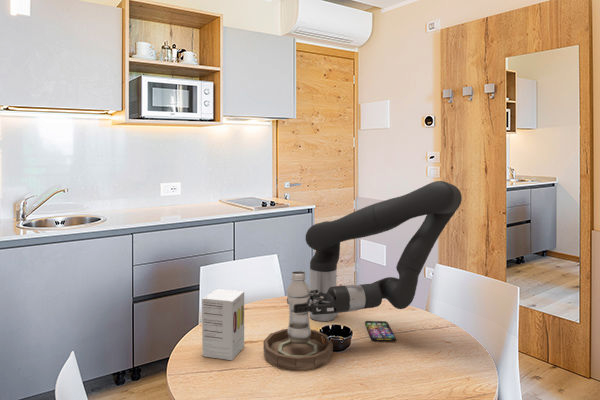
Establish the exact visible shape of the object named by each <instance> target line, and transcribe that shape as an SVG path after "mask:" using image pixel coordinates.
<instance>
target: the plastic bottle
mask: <svg viewBox="0 0 600 400" xmlns="http://www.w3.org/2000/svg"><path fill="white" fill-rule="evenodd" d="M291 280H292V281H291V282H290V283H289V285H288V286H287V289H286V297H288V303H289V305H288V310H289V311H288V312H289V313H288V314H289V315H288V327H287V329H288V332H287V333H288V338H289V340H290V341H291V342H293V343H296V344H303V343H306V342H308V341H309V339H310V337H311V330H312V329H311V328H312V327H311V325H310V324H311V323H310V317H309V313H308V311H307V312H301V313H295V312H294V305H295V304H303V303H307V305H308V303H309V299H310V286H309V284H308V283H307V282H306V271H302V270H295V271H293V272H291Z"/></svg>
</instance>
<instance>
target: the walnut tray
mask: <svg viewBox="0 0 600 400" xmlns="http://www.w3.org/2000/svg"><path fill="white" fill-rule="evenodd" d="M287 332H288V328H283V329H280V330H276V331H274V332H271V333H269V334H268V335H267V337H266V338H265V339H264V340H263V352H264V354H263V355H264V358H265V360H266V362H267V363H268V364H270V365H272V366H274V367H275V368H279V369H281V370H287V371H293V372H295V371H296V372H300V371H311V370H315V369H319V368H321V367H323V366H325V365H327V364H328V363H329V362H330V360H331V359H332V353H333V352H334V351H333V350H334V348H333V347H334V346H333V345H334V343H333V341H332V339H330V340H328V339H327V338H326V337H329V335H327V334H326V333H323V332H321V331H318V330H316V329H311V337H310V339H309V341H308V342H306V343H303V344H296V343H293V342H291V341H290V340H289V338H288V333H287ZM321 336H324V337H325V338H326V345H324V344H323V343H322V339H321Z"/></svg>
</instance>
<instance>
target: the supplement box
mask: <svg viewBox="0 0 600 400" xmlns="http://www.w3.org/2000/svg"><path fill="white" fill-rule="evenodd" d="M201 319H202V321H201V323H202V324H201V325H202V326H201V329H202V330H201V331H202V333H201V334H202V335H201V336H202V347H201V349H202V350H201V351H202V357H205V358H213V359H218V360H219V359H221V360H225V361H226V360H228V361H233V360H234V359H235V358H236V357H237V356H238V355H239V353H240V352H241V351H242V349H244V348H245V291H243V290H242V291H241V290H234V289H233V290H230V289H223V288H221V289H219V288H215V289H214V290H213V291H212V292H210V293H208V294H207V295H206V296H203V298H201Z"/></svg>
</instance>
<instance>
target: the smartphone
mask: <svg viewBox="0 0 600 400" xmlns="http://www.w3.org/2000/svg"><path fill="white" fill-rule="evenodd" d="M364 325H365V327H367V328H366V331H367V332H368V335H369V338H370V340H371V342H373V341H395V340H396V341H397V337H396V336H395V333H394V331H393V330H392V328H391V326H390V324H389V323H388V321H386V320H365V322H364Z"/></svg>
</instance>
